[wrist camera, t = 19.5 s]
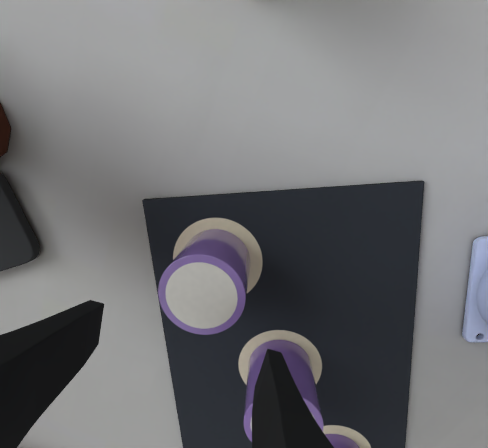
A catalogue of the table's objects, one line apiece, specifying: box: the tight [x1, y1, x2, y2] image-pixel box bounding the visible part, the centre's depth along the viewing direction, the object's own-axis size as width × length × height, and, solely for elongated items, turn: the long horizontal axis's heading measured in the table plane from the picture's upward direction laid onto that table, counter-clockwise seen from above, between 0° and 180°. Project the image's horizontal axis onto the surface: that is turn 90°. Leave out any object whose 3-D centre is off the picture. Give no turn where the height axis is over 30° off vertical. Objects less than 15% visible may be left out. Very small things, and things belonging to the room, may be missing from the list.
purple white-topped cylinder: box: [243, 340, 324, 442], centre depth 21 cm, size 5×5×5 cm
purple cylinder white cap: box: [158, 229, 251, 335], centre depth 19 cm, size 5×5×5 cm
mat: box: [143, 181, 424, 448], centre depth 24 cm, size 19×28×1 cm
